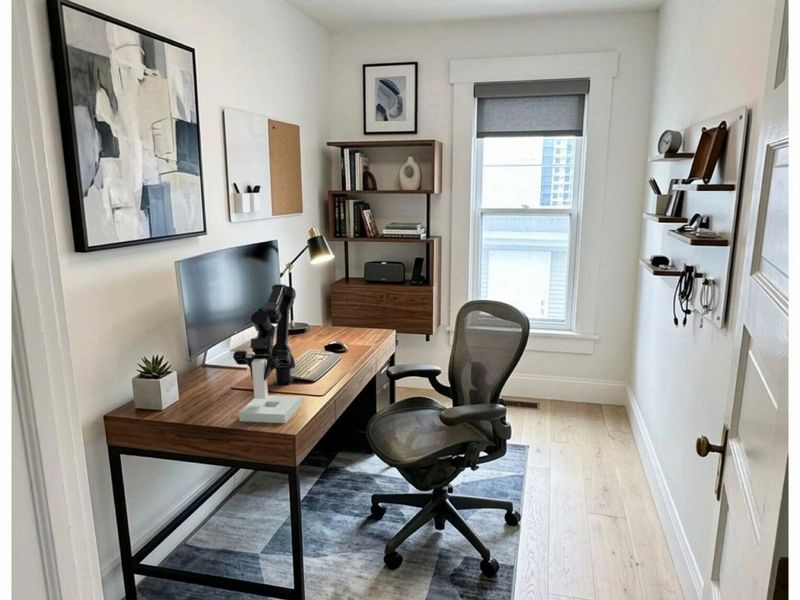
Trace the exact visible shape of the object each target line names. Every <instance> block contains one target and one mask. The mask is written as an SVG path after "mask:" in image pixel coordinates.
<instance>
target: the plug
mask: <svg viewBox="0 0 800 600" xmlns="http://www.w3.org/2000/svg"><path fill="white" fill-rule="evenodd" d="M266 365H267V361H266V360H265V359H254V360H253V361H252V374H253V380H252V385H253V395H254V396H253V397H254V398H253V399H265V398H266V397H267V395H269V391H268V378H267V379H266V380H264V374H265V369H266Z"/></svg>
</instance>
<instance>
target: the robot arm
mask: <svg viewBox="0 0 800 600" xmlns="http://www.w3.org/2000/svg"><path fill="white" fill-rule="evenodd" d="M271 288H272V289H271V292H270V295H269V297H268V300H267V302H266V303H265V304H264V305H262V306H260V308H258V310H257V311H255V312H253V314H252V315H251V317H250V320H251V323H252V325H253V327H254V329H255V331H256V332H257V337H256V338H251V339H250V349H252V352H253V353H248V352H247V350H235V351H234V353H233V354H232V358H233V360H234V362H235V363H236V365H240V366H243V365H245V366H247V367H249V370H250V371H249V372H250V377H251V380H252V381H253V374H252V361H253V360H254V359H265V361H266V369H265V374H264V380H266V379H267V380H268V378H269V376H270V375H271V373H272V372H273V371H274V370H275V379H276V380H275V381H274V382H273V385H283V386H288V385H290V384H291V383H292V382H293V381H294V380H295V378H292V374H291V370H293V369H295V368H296V362H295V357H294V356H293V353H292V349H291V348H290V346H289V345H288V341H289V329H290V328H289V326H290V325H289V323H290V310H291V308H292V307H293V305H294V303H295V299H296V297H297V296H296V290H295V288H294V287H293V286H287V285H286V284H282V283H281V284H280V283H279V284H273V285H272V287H271ZM274 325H276V327H275V326H274ZM275 334H276V336H275ZM275 338H276V340H275V344H274V339H275Z"/></svg>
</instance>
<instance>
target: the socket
mask: <svg viewBox="0 0 800 600" xmlns="http://www.w3.org/2000/svg"><path fill="white" fill-rule="evenodd" d="M301 405H302V396H300V395H298V396H297V395H296V396H295V395H277V394H276V395H275V394H272V395H271V394H268V395H267V397H266V398H265V399H254V398H253V399H252V400H251V401H249V403H247V404H246V405H245V406H244V407H243V408H242V409H240V410H239V411H238V418H239V419H238V421H239V422H250V423H251V422H252V423H254V422H255V423H273V424H276V423H277V424H286V423H287V422H288V421H289V419H290V418H291V417H292V416H293V415H294V414H295V413H296V411H297V410H298V409H299V408H300V407H301Z"/></svg>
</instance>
